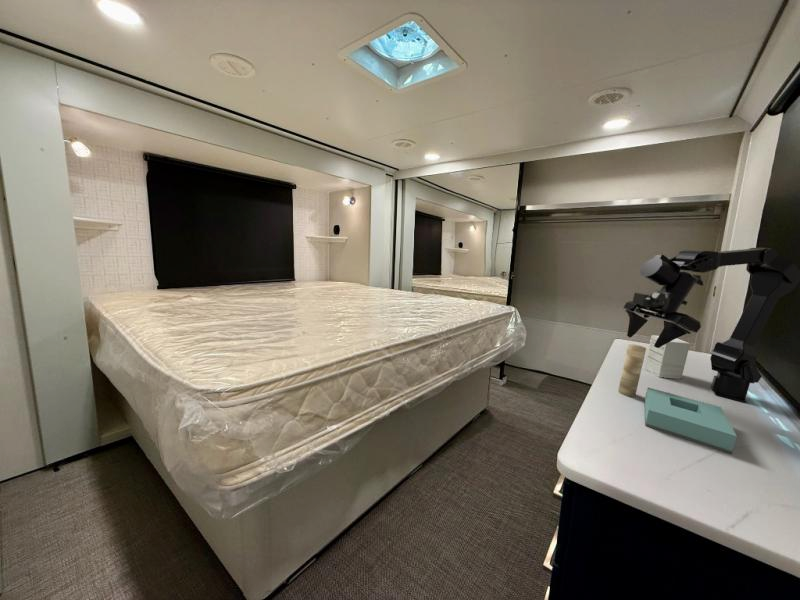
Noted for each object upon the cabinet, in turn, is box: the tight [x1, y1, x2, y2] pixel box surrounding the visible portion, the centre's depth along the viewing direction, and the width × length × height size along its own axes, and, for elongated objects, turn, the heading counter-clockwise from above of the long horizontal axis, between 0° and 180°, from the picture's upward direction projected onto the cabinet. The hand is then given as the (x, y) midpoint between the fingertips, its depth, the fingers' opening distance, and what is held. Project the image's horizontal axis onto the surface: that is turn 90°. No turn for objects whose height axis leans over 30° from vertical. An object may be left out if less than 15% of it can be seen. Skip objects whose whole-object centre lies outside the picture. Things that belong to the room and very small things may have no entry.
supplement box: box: [643, 334, 691, 380], centre depth 104 cm, size 7×7×13 cm
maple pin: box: [617, 343, 647, 398], centre depth 86 cm, size 4×4×14 cm
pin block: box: [643, 387, 738, 454], centre depth 73 cm, size 14×16×4 cm
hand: (641, 341), depth 86 cm, fingers open, 9 cm apart
